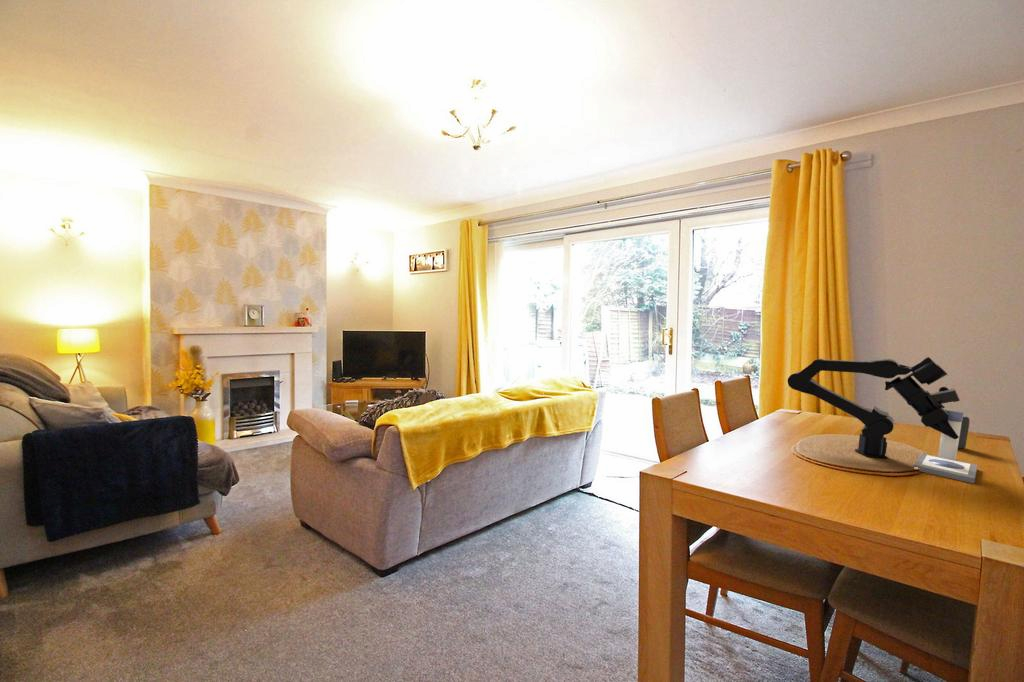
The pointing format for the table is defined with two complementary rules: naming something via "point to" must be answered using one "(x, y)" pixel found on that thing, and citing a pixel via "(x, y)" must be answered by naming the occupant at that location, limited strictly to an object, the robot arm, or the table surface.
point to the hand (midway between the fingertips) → (956, 436)
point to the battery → (963, 432)
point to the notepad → (947, 467)
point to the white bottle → (947, 443)
